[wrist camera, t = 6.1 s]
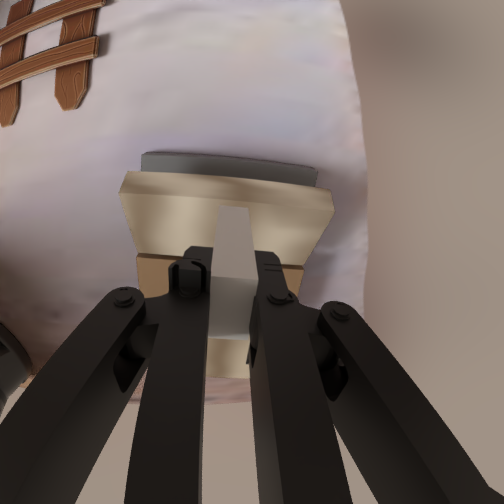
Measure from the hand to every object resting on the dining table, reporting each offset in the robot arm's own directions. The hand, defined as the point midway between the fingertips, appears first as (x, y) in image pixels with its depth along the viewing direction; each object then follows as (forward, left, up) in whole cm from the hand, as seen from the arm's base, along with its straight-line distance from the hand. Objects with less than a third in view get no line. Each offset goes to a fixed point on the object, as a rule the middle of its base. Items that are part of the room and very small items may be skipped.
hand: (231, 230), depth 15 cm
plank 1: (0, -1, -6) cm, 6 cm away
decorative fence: (-24, +13, -10) cm, 30 cm away
